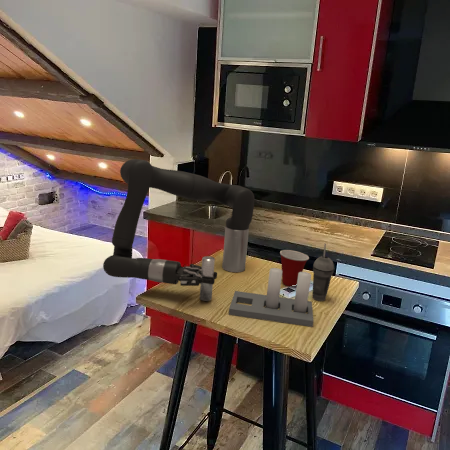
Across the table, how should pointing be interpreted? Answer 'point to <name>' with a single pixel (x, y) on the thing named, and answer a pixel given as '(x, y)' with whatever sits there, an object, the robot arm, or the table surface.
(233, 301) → the pin board
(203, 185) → the robot arm
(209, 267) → the steel pin
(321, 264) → the beverage cup
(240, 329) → the table surface
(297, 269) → the plastic cup
